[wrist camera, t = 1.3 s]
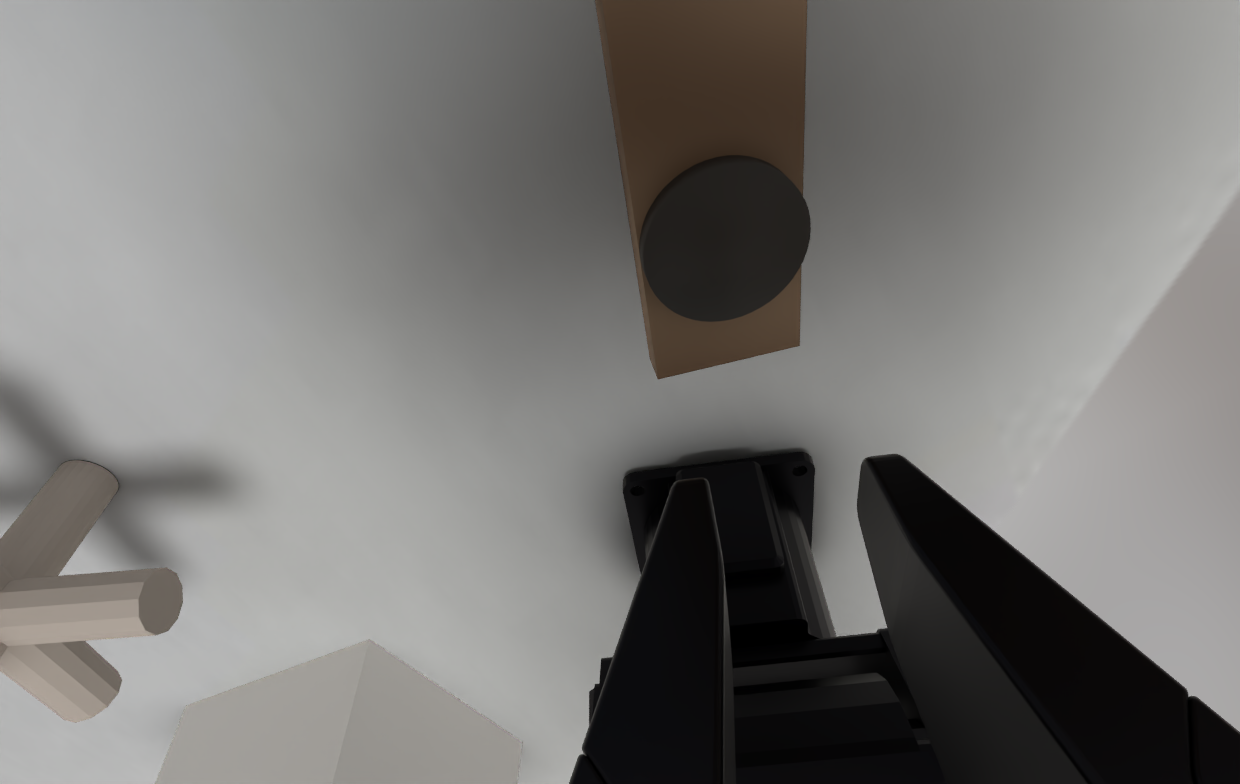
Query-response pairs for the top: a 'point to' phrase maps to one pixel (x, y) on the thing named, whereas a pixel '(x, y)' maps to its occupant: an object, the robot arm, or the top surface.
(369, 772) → the milk
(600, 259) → the top surface
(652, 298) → the lever
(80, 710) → the wooden jack toy
